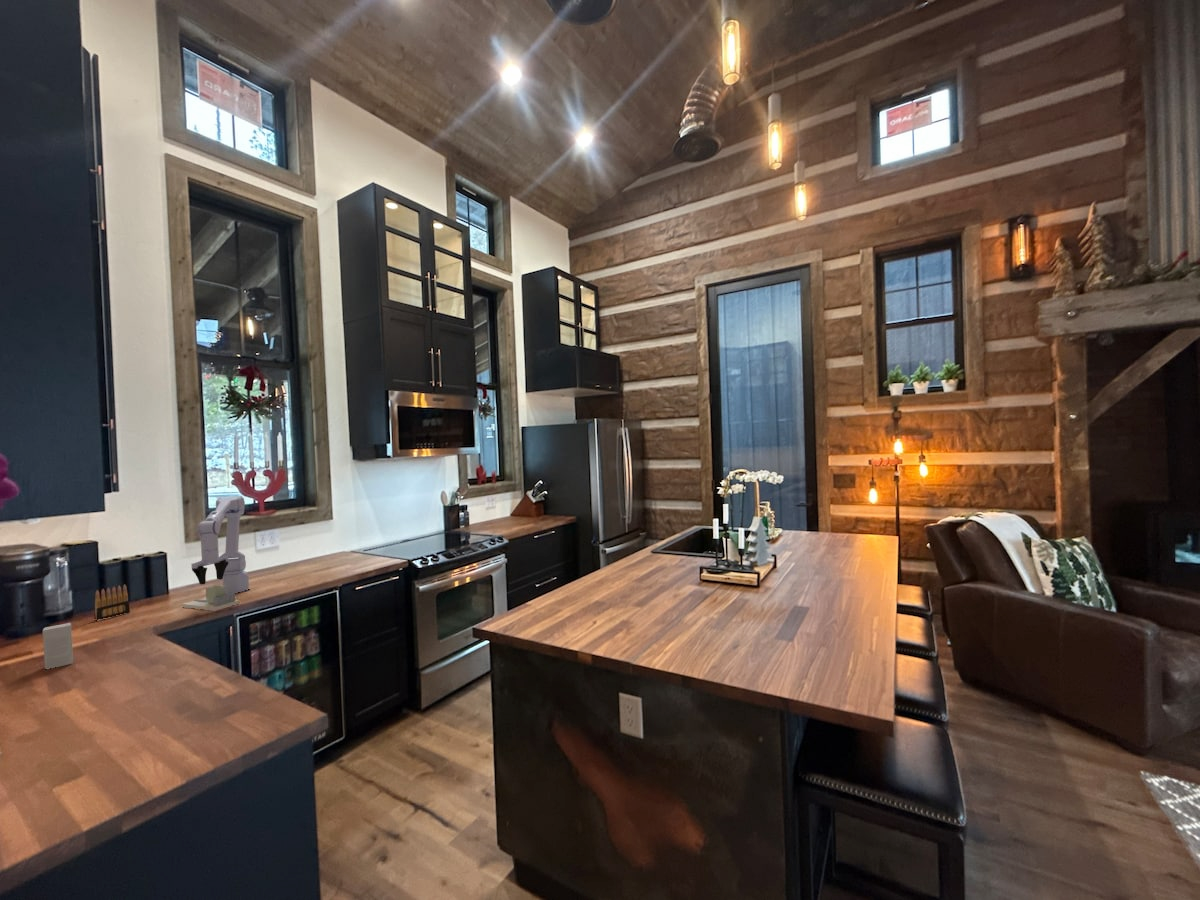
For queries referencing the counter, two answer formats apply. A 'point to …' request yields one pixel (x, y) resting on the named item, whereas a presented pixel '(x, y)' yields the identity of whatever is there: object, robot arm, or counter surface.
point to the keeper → (214, 592)
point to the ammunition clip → (111, 603)
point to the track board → (207, 605)
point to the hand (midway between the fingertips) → (211, 581)
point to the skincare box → (57, 645)
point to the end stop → (224, 599)
